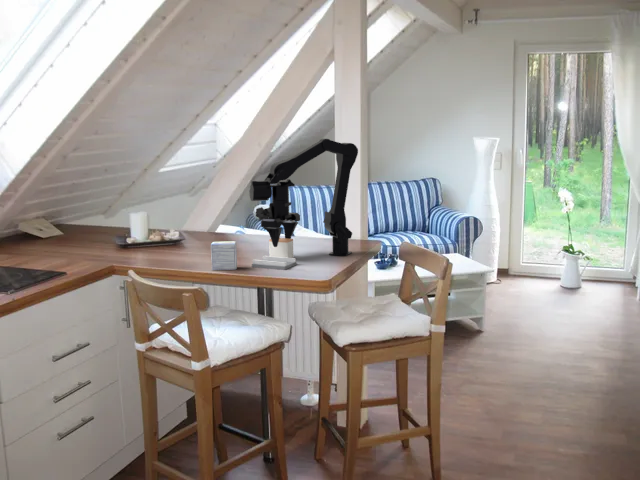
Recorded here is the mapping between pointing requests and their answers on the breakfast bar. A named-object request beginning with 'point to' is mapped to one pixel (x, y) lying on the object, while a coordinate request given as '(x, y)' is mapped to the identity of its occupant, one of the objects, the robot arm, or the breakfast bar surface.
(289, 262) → the rail cradle
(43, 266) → the breakfast bar surface
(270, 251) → the block
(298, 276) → the breakfast bar surface
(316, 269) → the breakfast bar surface
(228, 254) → the medicine box
